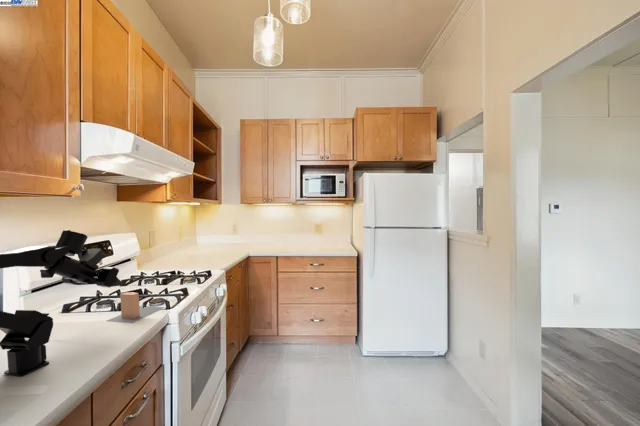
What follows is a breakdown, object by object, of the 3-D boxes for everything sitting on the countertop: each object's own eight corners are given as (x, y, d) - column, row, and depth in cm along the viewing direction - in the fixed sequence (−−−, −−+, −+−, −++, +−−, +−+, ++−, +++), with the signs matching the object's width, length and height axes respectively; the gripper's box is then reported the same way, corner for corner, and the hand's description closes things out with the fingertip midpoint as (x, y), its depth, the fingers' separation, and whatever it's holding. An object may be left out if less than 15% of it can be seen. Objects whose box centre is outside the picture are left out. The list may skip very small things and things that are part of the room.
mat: (132, 324, 105) (132, 323, 105) (105, 322, 108) (105, 320, 108) (165, 308, 121) (165, 307, 121) (141, 306, 123) (141, 305, 123)
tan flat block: (134, 318, 109) (133, 294, 109) (121, 317, 111) (120, 294, 111) (139, 315, 112) (138, 292, 111) (127, 315, 113) (125, 292, 113)
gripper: (106, 245, 92) (142, 262, 105) (61, 243, 96) (101, 260, 109) (88, 279, 86) (128, 293, 99) (41, 276, 91) (85, 290, 104)
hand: (110, 283), depth 103 cm, fingers open, 9 cm apart
